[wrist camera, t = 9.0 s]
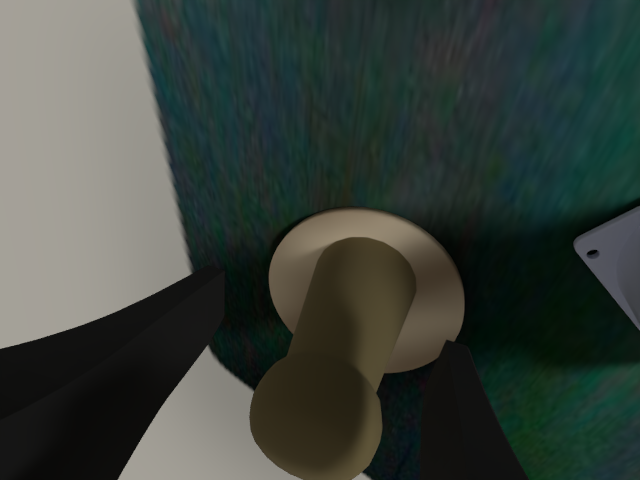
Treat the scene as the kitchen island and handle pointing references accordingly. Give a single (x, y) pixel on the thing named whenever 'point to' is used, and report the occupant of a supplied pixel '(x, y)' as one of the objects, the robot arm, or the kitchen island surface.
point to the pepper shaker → (335, 364)
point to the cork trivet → (403, 235)
